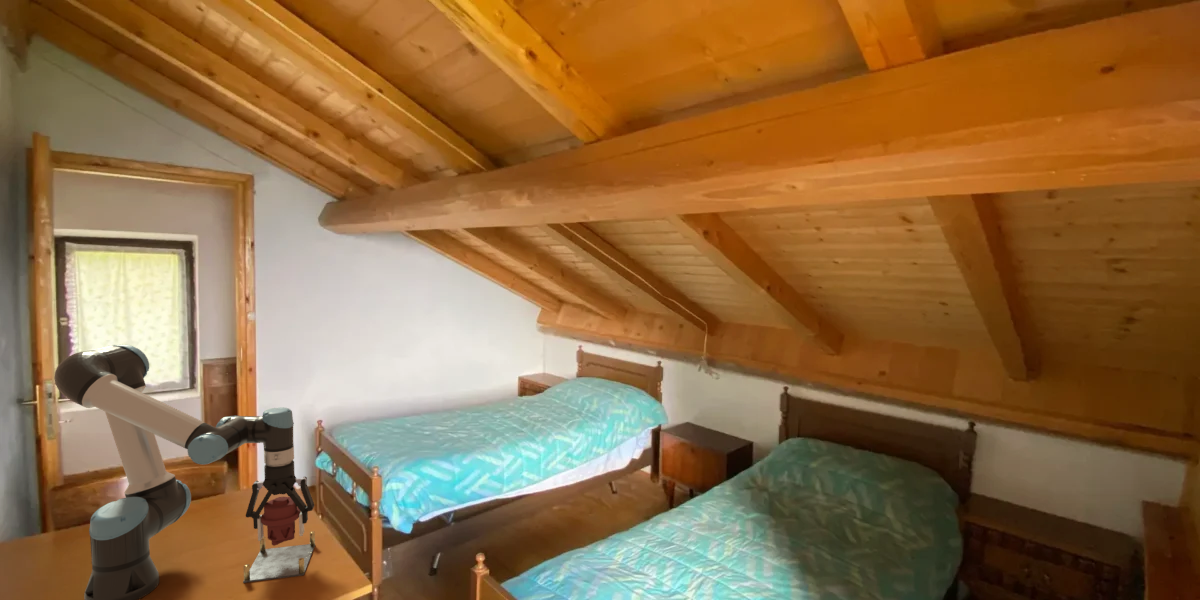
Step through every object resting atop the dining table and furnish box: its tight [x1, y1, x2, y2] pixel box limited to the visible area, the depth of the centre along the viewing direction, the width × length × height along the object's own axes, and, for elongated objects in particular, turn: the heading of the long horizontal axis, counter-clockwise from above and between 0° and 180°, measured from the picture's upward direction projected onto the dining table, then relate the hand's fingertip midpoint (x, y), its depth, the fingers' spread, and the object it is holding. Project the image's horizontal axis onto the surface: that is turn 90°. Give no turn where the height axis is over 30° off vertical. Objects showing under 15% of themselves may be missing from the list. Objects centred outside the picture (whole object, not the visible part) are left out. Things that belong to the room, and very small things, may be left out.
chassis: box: [243, 530, 316, 584], centre depth 165 cm, size 15×17×4 cm
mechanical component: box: [261, 496, 301, 547], centre depth 164 cm, size 12×10×10 cm
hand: (281, 536), depth 165 cm, fingers closed on mechanical component, 10 cm apart
